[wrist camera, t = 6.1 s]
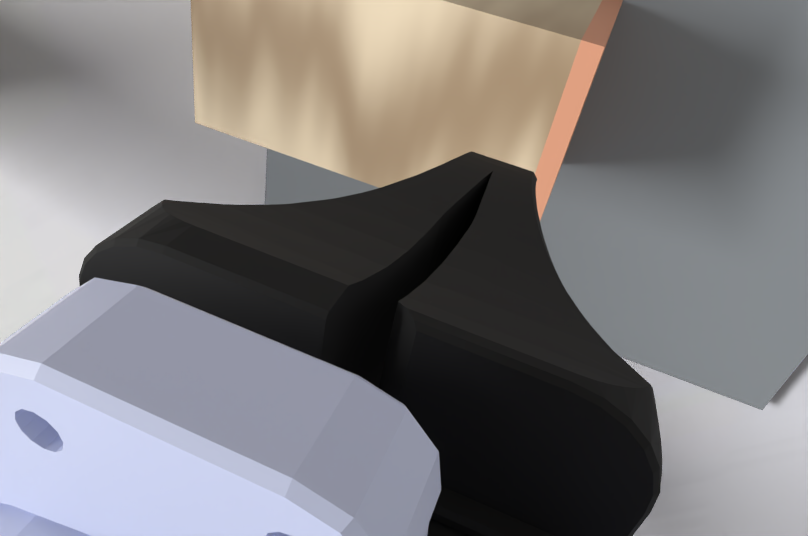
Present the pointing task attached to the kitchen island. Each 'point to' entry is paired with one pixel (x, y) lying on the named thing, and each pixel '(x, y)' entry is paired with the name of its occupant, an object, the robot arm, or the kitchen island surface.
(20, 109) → the kitchen island surface
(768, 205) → the rubber mat
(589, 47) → the beech block
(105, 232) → the kitchen island surface
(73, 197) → the kitchen island surface
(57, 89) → the kitchen island surface
